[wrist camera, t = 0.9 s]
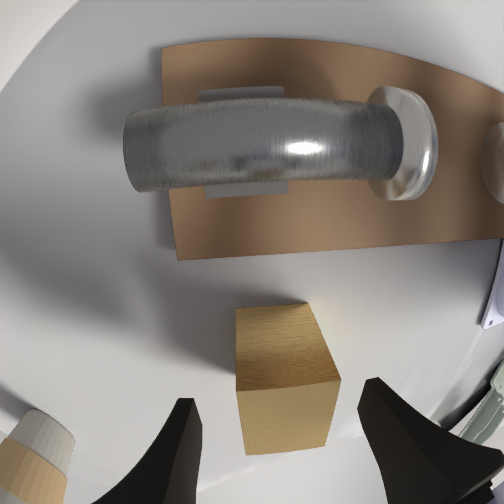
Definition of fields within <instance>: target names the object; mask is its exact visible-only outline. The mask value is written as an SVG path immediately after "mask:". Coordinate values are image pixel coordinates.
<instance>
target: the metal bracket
mask: <svg viewBox="0 0 504 504" xmlns="http://www.w3.org/2000/svg"><path fill="white" fill-rule="evenodd" d="M490 385H491V389H490V391H489V393H488V394H487V396H486V397H485V399H484V401H483V402H482V404H481V405H480V407H479V408H478V410H477V411H476V413H475V414H474V415H473V417H472V418H471V419H470V421H469V422H468V424H467V425H466V426H465V428H464V429H463V430H462V432H461V433H460V434H459V435H458V437H460V438H463V439H465V440H467V441H470V442H473V443H476V444H479V445H482V444H483V443H484V442H485V441H486V440H487V439H489V438H490V437H491V435H493V433H494V432H495V430H496V429H497V428H498V426H499V425H500V423H501V422H502V420H503V419H504V413H502V412H503V410H504V359H503V360H502V361H501V363H500V365H499V367H498V369H497V370H496V372H495V374H494V376H493V377H492V379H491V381H490Z"/></svg>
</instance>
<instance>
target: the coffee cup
mask: <svg viewBox="0 0 504 504" xmlns="http://www.w3.org/2000/svg"><path fill="white" fill-rule="evenodd" d="M74 443H75V440H74V438H73V436H72V435H71V434H70V433H69V432H68V430H67V429H65V428H64V427H63V426H62V425H61V424H60V423H58V422H57V421H56V420H54V419H53V418H51V417H50V416H48V415H47V414H45V413H43V412H41V411H38V410H35V409H30V410H28V411H27V412H26V414H25V415H24V416H23V417H22V419H21V420H20V421H19V423H18V424H17V425H16V427H15V428H14V429H13V431H12V432H11V433H10V435H9V436H8V437H7V438H5V439H4V440H3V442H2V443H1V444H0V504H63V500H64V494H65V489H66V484H67V478H66V477H67V472H68V468H69V463H70V459H71V455H72V451H73V447H74Z"/></svg>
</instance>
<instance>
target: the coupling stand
mask: <svg viewBox="0 0 504 504" xmlns="http://www.w3.org/2000/svg"><path fill="white" fill-rule="evenodd" d="M162 106H163V107H158V108H153V109H147V110H142V111H137V112H133V113H131V114H130V116H129V117H128V119H127V121H126V124H125V129H124V136H123V153H124V161H125V166H126V170H127V174H128V177H129V179H130V182H131V184H132V185H133V187H134V188H135V190H136V191H138V192H140V193H144V192H152V191H160V190H169V198H170V207H171V215H172V223H173V231H174V238H175V245H176V252H177V259H178V260H193V259H209V258H224V257H239V256H254V255H269V254H284V253H299V252H313V251H328V250H342V249H357V248H371V247H385V246H399V245H413V244H427V243H440V242H454V241H467V240H481V239H494V238H504V94H502V93H500V92H498V91H496V90H494V89H492V88H490V87H488V86H486V85H484V84H482V83H480V82H477V81H475V80H473V79H470V78H468V77H466V76H463V75H461V74H458V73H456V72H453V71H450V70H448V69H445V68H442V67H439V66H436V65H433V64H430V63H427V62H424V61H421V60H417V59H414V58H410V57H407V56H403V55H399V54H395V53H391V52H387V51H382V50H377V49H373V48H367V47H362V46H356V45H350V44H343V43H336V42H327V41H317V40H305V39H286V38H248V39H228V40H216V41H206V42H197V43H190V44H183V45H177V46H171V47H165V48H162Z"/></svg>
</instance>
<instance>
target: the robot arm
mask: <svg viewBox="0 0 504 504" xmlns="http://www.w3.org/2000/svg"><path fill="white" fill-rule="evenodd" d="M502 322H504V239H503V244H502V250H501V254H500V259H499V264H498V268H497V272H496V276H495V280H494V284H493V287H492V291H491V294H490V298H489V301H488V304H487V307H486V310H485V313H484V316H483V319H482V322H481V327H482V328H483V329H487V328H490V327H492V326H495V325H497V324H500V323H502ZM357 410H358V414H359V417H360V421H361V424H362V428H363V430H364V433H365V435H366V437H367V440H368V442H369V444H370V447H371V449H372V451H373V454H374V456H375V459H376V461H377V463H378V466H379V469H380V471H381V475H382V479H383V482H384V487H385V491H386V496H387V501H388V504H504V481H503V482H502V483H501V484H499V485H498V486H497V487H496V488H494V489H493V490H492V491H491V489H490V487H491V486H492V482H491V479H492V478H493V477H494V476H496V475H497V474H498V473H499V472H500V471H501V470H502V469H503V468H504V454H503V453H502V451H501V450H499V449H494V448H489V447H485V446H482V445H479V444H476V443H473V442H470V441H467V440H465V439H463V438H460V437H458V436H456V435H454V434H452V433H450V432H448V431H446V430H444V429H443V428H441V427H439V426H438V425H436V424H434V423H433V422H431V421H430V420H428V419H427V418H426V417H424V416H423V415H422V414H420V413H419V412H418V411H416V410H415V409H414V408H413V407H412V406H410V405H409V404H408V403H407V402H406V401H404V400H403V399H402V398H401V397H400V396H399V395H398V394H397V393H395V392H394V391H393V390H392V389H391V388H390V387H389V386H388V385H387V384H386V383H385V382H383V381H382V380H381V379H380V378H379V377H376V378H372V379H368V380H366V382H365V385H364V388H363V392H362V395H361V398H360V401H359V404H358V407H357ZM201 450H202V423H201V420H200V417H199V414H198V410H197V407H196V404H195V401H194V398H179V399H178V400H177V401H176V404H175V406H174V408H173V410H172V412H171V413H170V415H169V417H168V419H167V421H166V422H165V424H164V426H163V428H162V429H161V431H160V432H159V434H158V436H157V437H156V439H155V440H154V442H153V443H152V445H151V446H150V447H149V449H148V450H147V452H146V453H145V454H144V456H143V457H142V458H141V459H140V461H139V462H138V463H137V464H136V465H135V467H134V468H133V469H132V470H131V471H130V472H129V473H128V474H127V475H126V476H125V477H124V478H123V479H122V480H121V481H120V482H119V483H118V484H117V485H116V486H115V487H113V488H112V489H111V490H110V491H108V492H107V493H106V494H105V495H103V496H102V497H101V498H99V499H98V500H97V501H95V502H93V503H92V504H196V487H197V479H198V472H199V465H200V457H201Z"/></svg>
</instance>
